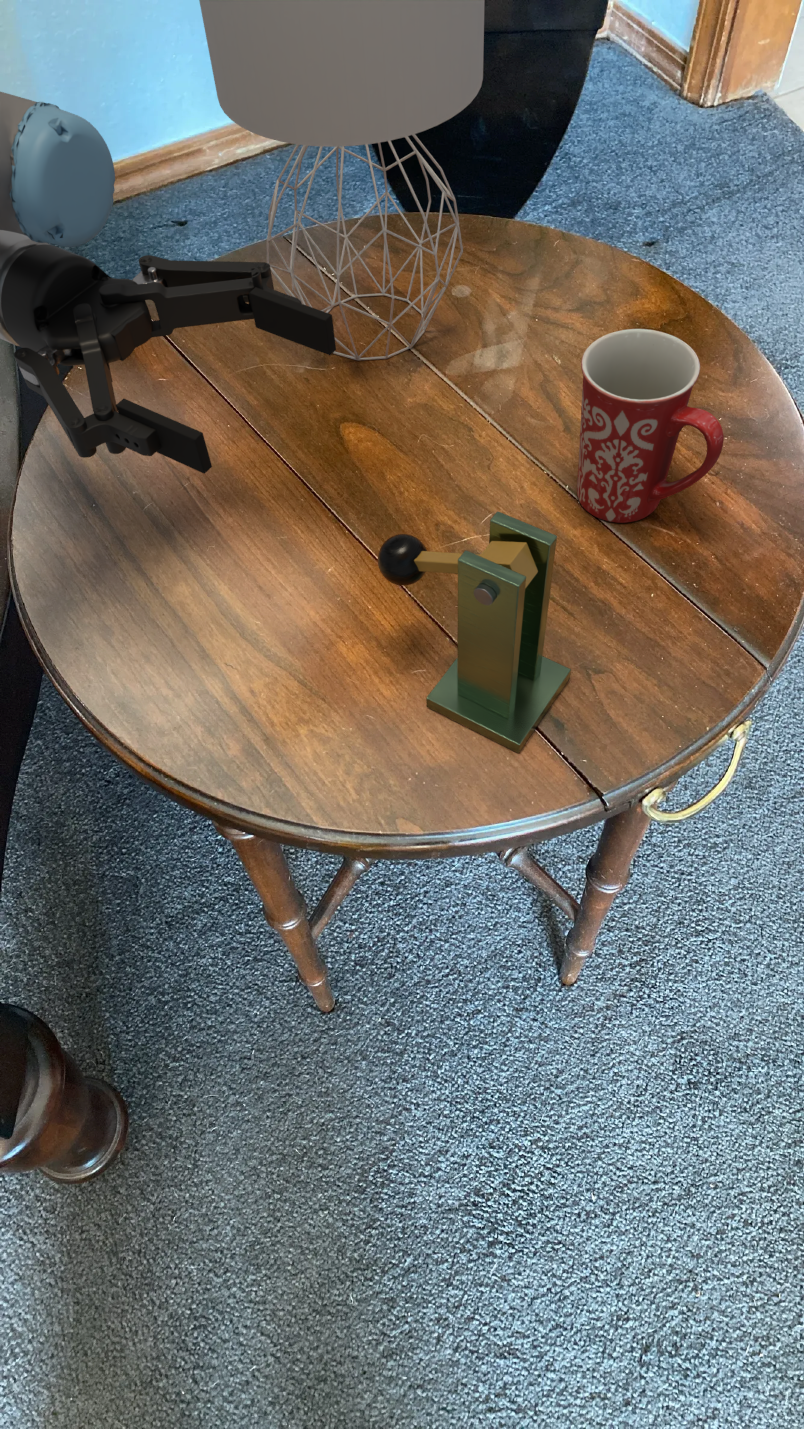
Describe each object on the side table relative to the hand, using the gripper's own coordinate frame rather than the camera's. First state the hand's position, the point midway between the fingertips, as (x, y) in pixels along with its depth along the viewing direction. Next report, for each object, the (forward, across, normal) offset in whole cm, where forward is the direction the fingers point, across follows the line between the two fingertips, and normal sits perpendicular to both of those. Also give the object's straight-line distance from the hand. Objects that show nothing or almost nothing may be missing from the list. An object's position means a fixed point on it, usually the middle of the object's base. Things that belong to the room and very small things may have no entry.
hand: (270, 391), depth 63 cm
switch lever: (+14, 0, -10) cm, 18 cm away
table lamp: (-17, -33, -21) cm, 43 cm away
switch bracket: (+18, 0, -21) cm, 27 cm away
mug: (+18, -23, -21) cm, 36 cm away
